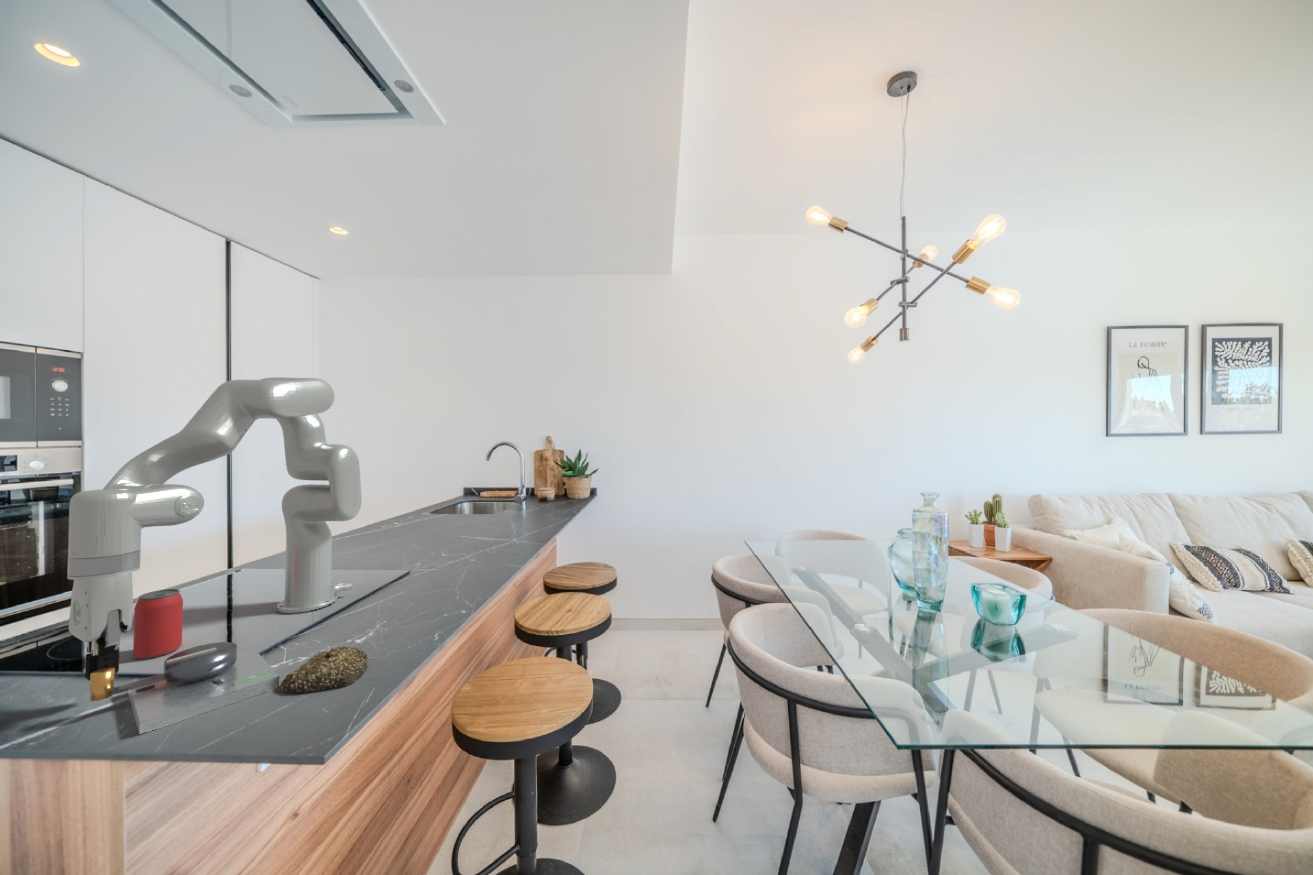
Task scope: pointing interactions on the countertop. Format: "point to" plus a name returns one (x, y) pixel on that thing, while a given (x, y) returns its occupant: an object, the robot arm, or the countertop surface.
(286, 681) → the bread roll
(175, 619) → the beer can
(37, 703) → the countertop surface
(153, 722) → the plate
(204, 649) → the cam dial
